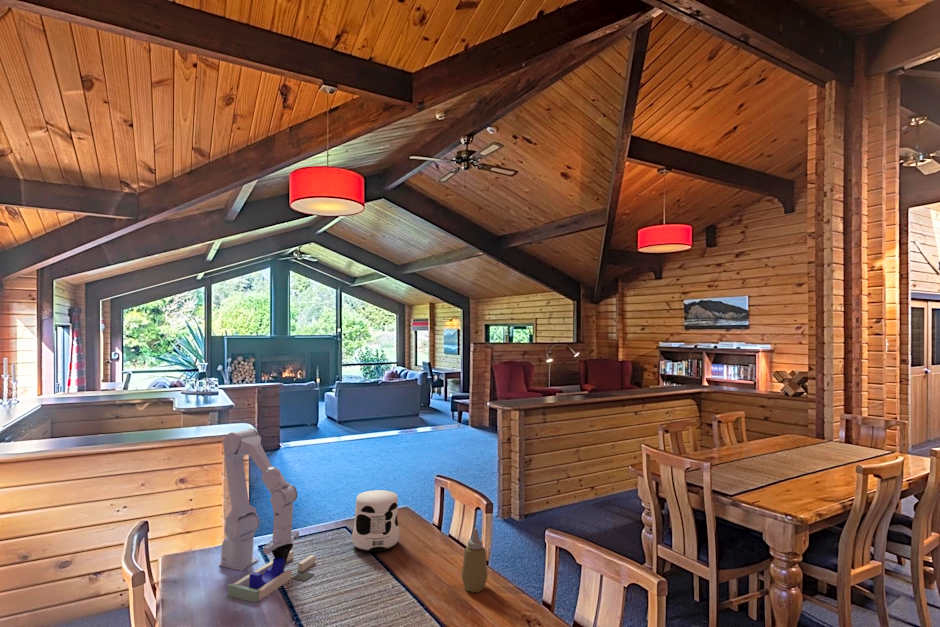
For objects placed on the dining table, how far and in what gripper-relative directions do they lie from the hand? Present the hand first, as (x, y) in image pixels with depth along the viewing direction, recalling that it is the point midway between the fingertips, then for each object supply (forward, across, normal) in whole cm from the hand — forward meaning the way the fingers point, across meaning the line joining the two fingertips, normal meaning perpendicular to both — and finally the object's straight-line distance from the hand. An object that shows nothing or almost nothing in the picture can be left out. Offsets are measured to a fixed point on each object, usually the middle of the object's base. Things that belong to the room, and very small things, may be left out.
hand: (280, 568), depth 157 cm
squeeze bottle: (+2, +15, -61) cm, 63 cm away
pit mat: (+2, +1, -8) cm, 8 cm away
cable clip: (+2, -8, -1) cm, 8 cm away
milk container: (+2, +31, -17) cm, 35 cm away
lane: (+2, -2, 0) cm, 3 cm away
